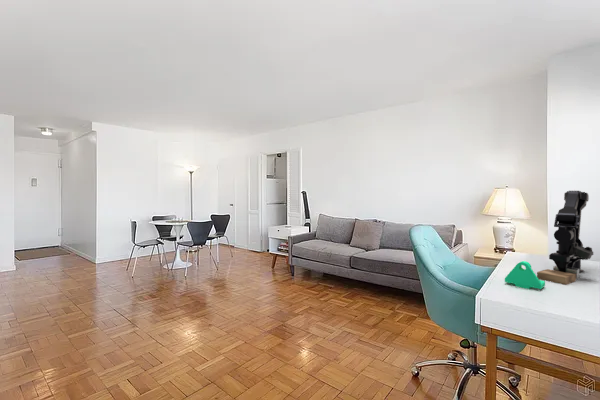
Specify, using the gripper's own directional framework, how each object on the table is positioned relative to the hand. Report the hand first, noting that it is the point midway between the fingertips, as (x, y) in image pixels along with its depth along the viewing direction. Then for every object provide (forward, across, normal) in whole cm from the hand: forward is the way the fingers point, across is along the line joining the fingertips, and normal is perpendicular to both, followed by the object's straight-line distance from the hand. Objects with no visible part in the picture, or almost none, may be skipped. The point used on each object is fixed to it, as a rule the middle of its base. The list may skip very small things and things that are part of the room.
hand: (566, 274), depth 135 cm
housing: (+1, 0, 0) cm, 1 cm away
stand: (+1, -10, 0) cm, 10 cm away
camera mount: (+2, -31, +3) cm, 31 cm away
